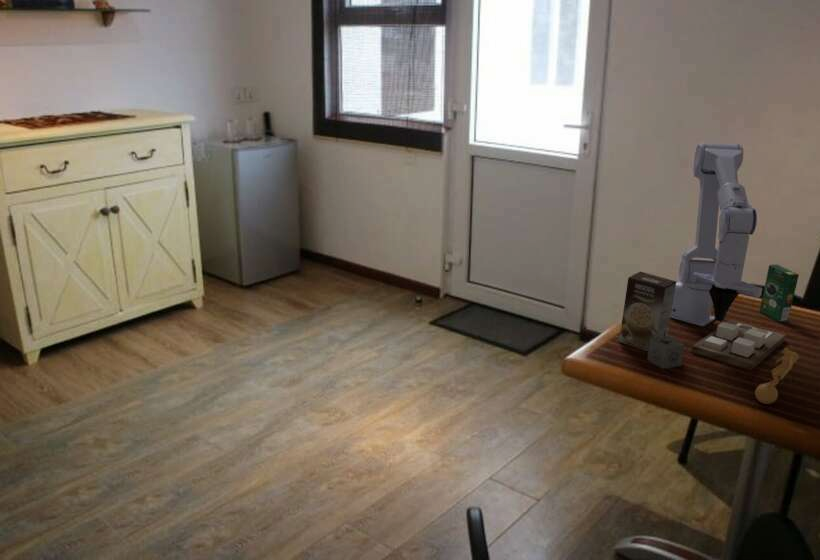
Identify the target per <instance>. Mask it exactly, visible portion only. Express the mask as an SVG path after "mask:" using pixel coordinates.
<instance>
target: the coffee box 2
mask: <svg viewBox="0 0 820 560" xmlns="http://www.w3.org/2000/svg"><path fill="white" fill-rule="evenodd" d="M798 281H799V274H798V273H797V272H794V271H793V270H789V269H787V268H785V267H783V266H781V265H780V264H770V265H768V269H767V273H766V280H765V282H764V283H765V284H764V289H763V291H762V292H763V293H762V296H761V297H762V298H761V302H760V307H759V312H761V314H763V315H765V316H767V317H769V318H770V319H773V320H774V321H776V322H779V323H786V322H785V321H789V318H790V314H791V309H792V305H793V300H794V296H795V293H796V288H797V285H798Z"/></svg>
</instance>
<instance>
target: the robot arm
mask: <svg viewBox="0 0 820 560" xmlns="http://www.w3.org/2000/svg"><path fill="white" fill-rule="evenodd" d="M694 152H695V153H694V160H693V169H692V171H693V177H695V178H697V179H698V180H699V195H698V198H699V199H698V207H697V218H696V230H695V240H694V246H693V247H691V248H689V249H687V250H686V251H684V252H683V253H682V255H681V261H680V265H679V268H678V269H679V270H678V278H679V280H678V281H676V287H675V293H674V298H673V304H672V310H671V316H670V319H674V320H678V321H682V322H686V323H689V324H692V325H696V326H700V327H706V326H707V325H708V324H710V323H712V322H713V321H714V320H715V321H718V322H722V321H724V320H725V319H726V315H727V313H728V311H729V309H730V307H731V305H732V304H733V303H734V301H735V300H736V298H737V297H738V296H739V294H742V295H747V296H751V297H753V298H755V299H759V298H760V297H762V292H763V287H761V286H760V287H759V286H757V285H753V284H750V283H748V282H745V281H742V277H743V273H744V267H745V263H746V257H747V251H748V245H749V241H750V236H752V235H754V233H755V231H756V227H757V224H758V223H757V222H758V214H757V209H756V207H753V206H752V205H750V204H749V201H748V196H747V193H746V189H745V186H743V184H741V183H739V178H738V172H739V169H740V168H741V166H742V164H743V160H744V147H743V146H742V144H741V143H720V142H719V143H718V142H717V143H716V142H705V141H700V142H699V143H698V144H697V145H696V148H695V151H694ZM719 210H720V214H719ZM717 231H718V234H717ZM717 239H718V240H719V241H718V248H716V242H717ZM695 258H697V259H695ZM698 258H699V259H698ZM703 259H704V260H703ZM705 259H710V260H705ZM712 307H713V311H714V315H711V312H712Z"/></svg>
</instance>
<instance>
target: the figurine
mask: <svg viewBox="0 0 820 560" xmlns="http://www.w3.org/2000/svg"><path fill="white" fill-rule="evenodd" d="M782 353H783V356H781V357H779V358H778V359H776V360H775V364H778V363H779V362H781V364H779V365H778V366H777V367H775V368H773V369H772V370H771V374H772V378H773V380H771V381H768V382H765V383H764V382H763V383H760V384H759V385H758V386H756V388H755V391H754V394H755V395H754V396H755V397H756V399H757V400H758V401H759V402H760V403H761V404H764V405H771V404H773V403H775V402H776V401H777V399H778V396H779V391H778V390H777V387H776V386H777V385H778V384H779V381H780V380H781V381H782V380H784V378H785V376H786V375H787V374H788V373H789V372H790V371H791V369H792V368H793V366H794V364H795V363H797V361H798V360H799V355H798V353H797V352H795V351H792V350H790V349H789V348H788V347H785V348H784V349H783V350H782Z"/></svg>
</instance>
